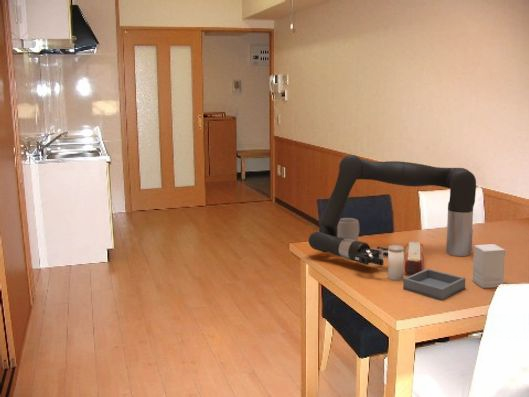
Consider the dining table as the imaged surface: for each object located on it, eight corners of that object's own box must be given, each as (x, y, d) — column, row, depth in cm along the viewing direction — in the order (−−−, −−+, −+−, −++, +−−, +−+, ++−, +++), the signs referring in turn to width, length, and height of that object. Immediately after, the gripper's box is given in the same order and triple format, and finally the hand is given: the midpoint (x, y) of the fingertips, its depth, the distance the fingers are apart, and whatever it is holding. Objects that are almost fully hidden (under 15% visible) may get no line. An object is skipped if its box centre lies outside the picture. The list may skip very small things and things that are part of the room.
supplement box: (503, 287, 178) (506, 249, 175) (481, 288, 177) (483, 251, 175) (492, 279, 185) (494, 243, 182) (471, 280, 184) (473, 244, 182)
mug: (350, 250, 222) (350, 223, 220) (333, 246, 228) (333, 220, 226) (366, 243, 231) (367, 218, 229) (350, 240, 237) (350, 215, 234)
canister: (393, 274, 193) (394, 244, 191) (406, 277, 189) (407, 247, 187) (384, 277, 190) (385, 247, 187) (397, 281, 186) (397, 250, 183)
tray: (427, 278, 188) (427, 268, 187) (465, 288, 178) (465, 278, 177) (403, 288, 179) (403, 278, 178) (441, 300, 169) (442, 289, 168)
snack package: (422, 277, 190) (423, 258, 188) (403, 275, 192) (403, 257, 190) (423, 258, 210) (423, 241, 208) (405, 257, 212) (405, 240, 210)
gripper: (341, 244, 197) (377, 253, 184) (366, 236, 206) (402, 245, 194) (341, 264, 198) (377, 275, 186) (366, 255, 207) (402, 265, 195)
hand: (390, 259), depth 190 cm, fingers open, 8 cm apart
